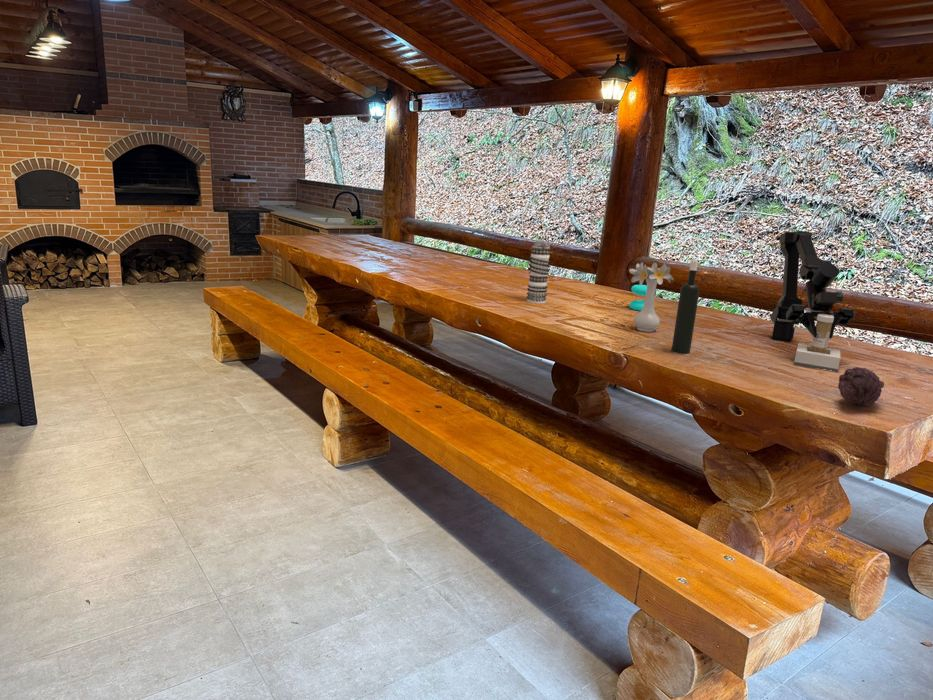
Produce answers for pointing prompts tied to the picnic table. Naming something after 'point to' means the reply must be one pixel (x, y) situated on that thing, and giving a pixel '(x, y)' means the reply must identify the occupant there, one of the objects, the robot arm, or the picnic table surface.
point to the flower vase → (649, 294)
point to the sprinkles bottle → (822, 333)
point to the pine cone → (860, 386)
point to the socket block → (817, 358)
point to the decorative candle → (538, 273)
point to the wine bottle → (686, 313)
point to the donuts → (639, 291)
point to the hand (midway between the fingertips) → (823, 337)
